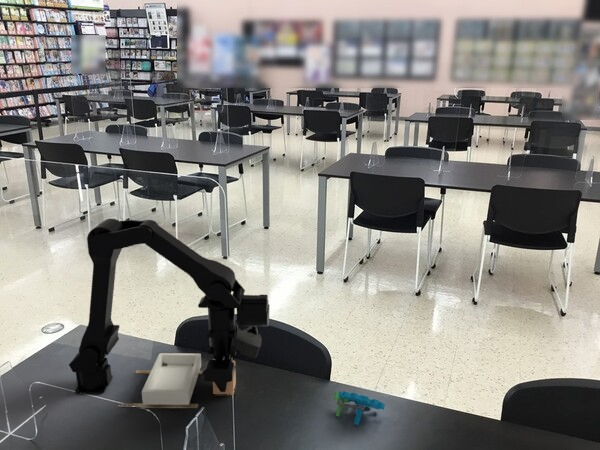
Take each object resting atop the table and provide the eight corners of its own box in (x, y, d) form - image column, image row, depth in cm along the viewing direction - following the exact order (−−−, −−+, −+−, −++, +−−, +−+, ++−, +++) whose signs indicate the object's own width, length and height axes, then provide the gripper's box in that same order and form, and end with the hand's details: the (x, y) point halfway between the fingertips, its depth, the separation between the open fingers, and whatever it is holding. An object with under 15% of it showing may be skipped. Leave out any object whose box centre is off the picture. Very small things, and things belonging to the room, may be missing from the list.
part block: (213, 395, 114) (212, 371, 112) (216, 382, 118) (215, 360, 116) (233, 395, 114) (232, 372, 112) (235, 383, 118) (235, 360, 116)
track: (117, 407, 109) (117, 406, 109) (136, 370, 122) (136, 370, 122) (197, 408, 110) (197, 407, 110) (207, 371, 123) (207, 370, 122)
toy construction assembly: (392, 406, 108) (377, 394, 101) (386, 434, 106) (371, 425, 98) (345, 395, 114) (327, 384, 106) (338, 422, 112) (320, 413, 104)
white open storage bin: (143, 407, 109) (141, 391, 108) (160, 367, 123) (159, 353, 122) (189, 407, 109) (188, 392, 108) (201, 368, 123) (200, 353, 122)
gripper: (255, 346, 102) (256, 412, 107) (261, 304, 120) (262, 362, 125) (200, 346, 102) (203, 411, 107) (214, 304, 120) (217, 361, 125)
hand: (224, 384), depth 116 cm, fingers closed on part block, 4 cm apart
